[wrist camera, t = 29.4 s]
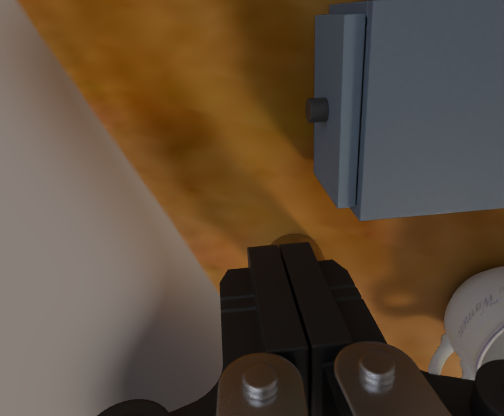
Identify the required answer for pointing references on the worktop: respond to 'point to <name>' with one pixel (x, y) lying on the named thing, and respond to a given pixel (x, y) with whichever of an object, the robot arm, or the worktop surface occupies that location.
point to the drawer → (338, 103)
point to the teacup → (473, 324)
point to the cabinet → (430, 107)
